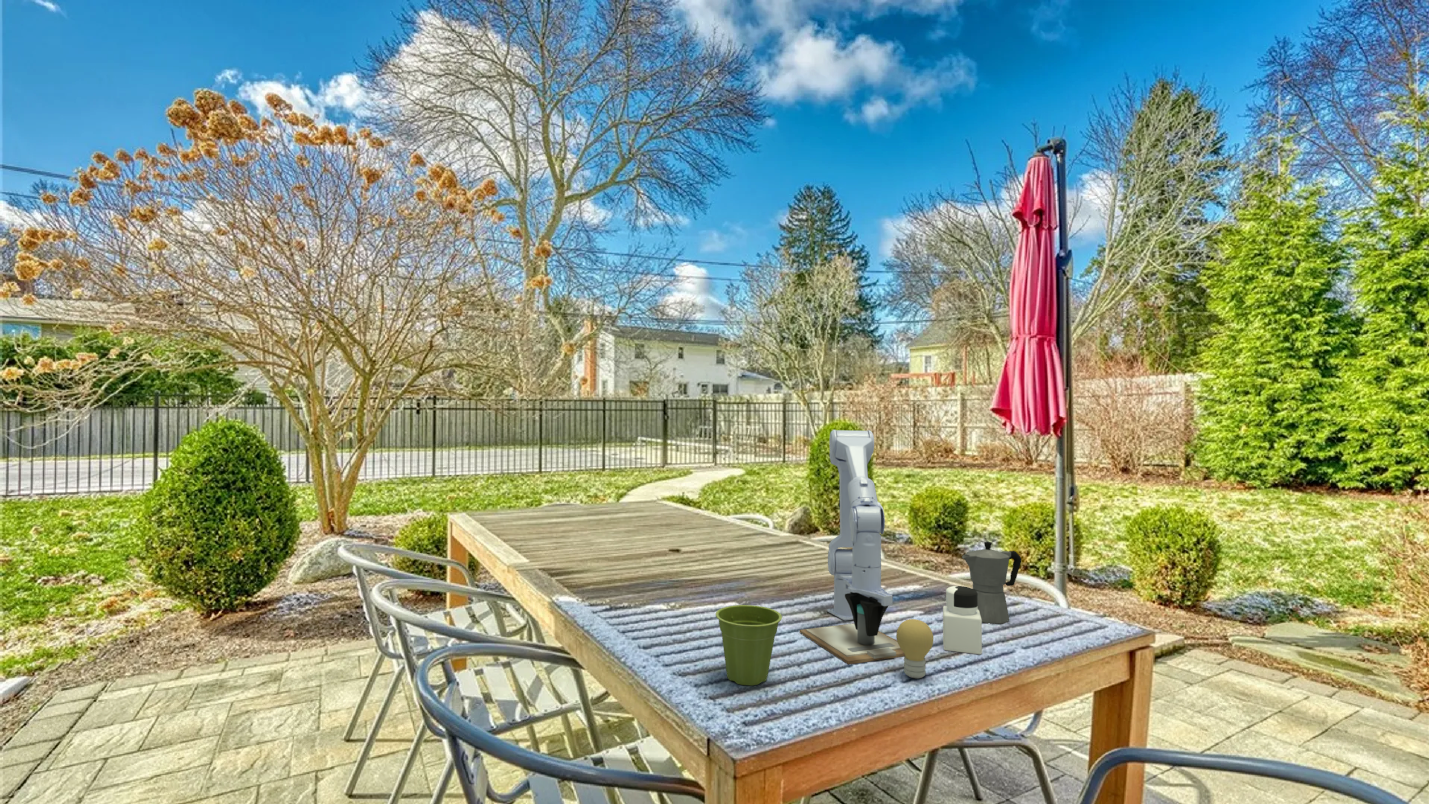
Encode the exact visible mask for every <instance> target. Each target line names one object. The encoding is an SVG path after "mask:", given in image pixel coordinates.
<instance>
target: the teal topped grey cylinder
mask: <svg viewBox="0 0 1429 804" xmlns="http://www.w3.org/2000/svg"><path fill="white" fill-rule="evenodd" d="M857 612H858V622H857V641H858V643H860V644H864V645H872V644H874V643H875V636H867V633H866V625H865V616H864V611H863V608H862V606H861V604H858V605H857Z"/></svg>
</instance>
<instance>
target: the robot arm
mask: <svg viewBox="0 0 1429 804" xmlns="http://www.w3.org/2000/svg"><path fill="white" fill-rule="evenodd" d="M874 450H875V437H874V433H873V432H872V431H871V430H870V429H869V430H868V429H867V430H842V429H841V430H840V429H838V430H837V429H832V430H831V431H830V433H829V460H830V464H831V465H834V466H836V467H837V470H838V473H839V474H838V475H839V476H838V477H839V529H840V530H839V535H837V536H835V537H834V538H833V539H832V540H831V541H830V542H829V544H828V551H827V553H828V554H827V567H828V573H829V574H830V575H831V576H833V607H832V608H827V609H826V612H828V613H830V614H831V615H833V616H835V617H837V618H839V619H841V620H843V621H851V620H853V623H854V624H855V628H856V630H857V622H858V612H857V605H858V604H861V606H862V608H863V611H864V616H865V625H866V633H867V636H877V634H878V631H880V627H881V622H882V619H883V617H884V615H885V613H886V611H887V609H888V608H889V607H890V606H893V595H892V594H891V593H888V591H886V590H885V589H884V588H883V587H882V535H884V532H885V529H886V528H885V526H886V518H885V510H884V507H883V506H882V503H881V502H880V501H879V500H878V496H877V491H876V486H875V483H874V481H873V480H872V479H871V478H869V477H868V464H869V462H870V460H871V458H872V456H873V454H874Z"/></svg>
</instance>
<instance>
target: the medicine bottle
mask: <svg viewBox="0 0 1429 804" xmlns="http://www.w3.org/2000/svg"><path fill="white" fill-rule="evenodd" d="M972 588H973V587H969V586H965V585H964V586H963V585H952V586H949V587H947V588H946V589H945V605H943V606H942V645H943V650H944V651H949V652H957V653H963V654H964V653H966V654H972V655H973V654H974V655H982V654H983V652H982V651H983V645H982V644H983V642H982V640H983V639H982V638H983V631H982V629H983V625H982V624H983V623H982V619H981V616H980V612H979V610H978V593H977V592H976V591H975V590H974V589H972Z"/></svg>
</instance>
